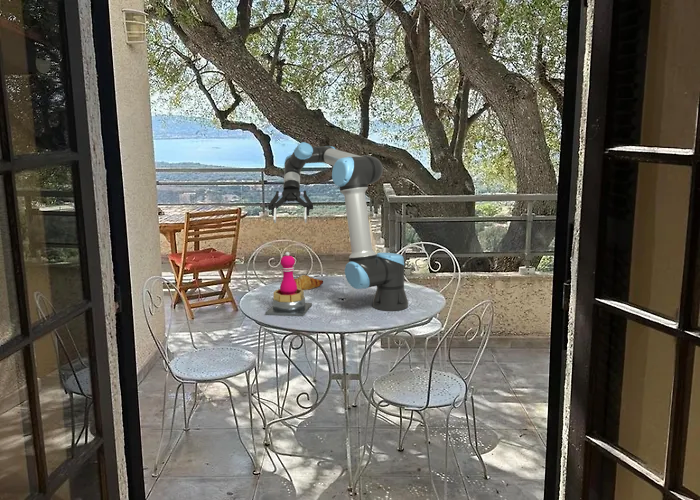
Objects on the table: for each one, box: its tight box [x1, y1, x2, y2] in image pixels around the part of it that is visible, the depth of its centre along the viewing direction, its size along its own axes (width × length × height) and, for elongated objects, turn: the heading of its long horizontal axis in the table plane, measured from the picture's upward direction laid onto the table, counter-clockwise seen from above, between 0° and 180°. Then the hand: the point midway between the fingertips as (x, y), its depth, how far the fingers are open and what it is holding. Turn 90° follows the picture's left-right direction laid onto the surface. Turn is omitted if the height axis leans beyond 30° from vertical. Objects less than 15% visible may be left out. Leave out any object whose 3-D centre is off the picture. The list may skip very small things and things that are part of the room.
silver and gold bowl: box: [265, 288, 313, 317], centre depth 262 cm, size 16×16×8 cm
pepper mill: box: [279, 251, 297, 295], centre depth 260 cm, size 7×7×20 cm
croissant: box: [294, 274, 324, 291], centre depth 298 cm, size 21×10×8 cm, turn 111°
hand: (290, 221), depth 273 cm, fingers open, 13 cm apart
